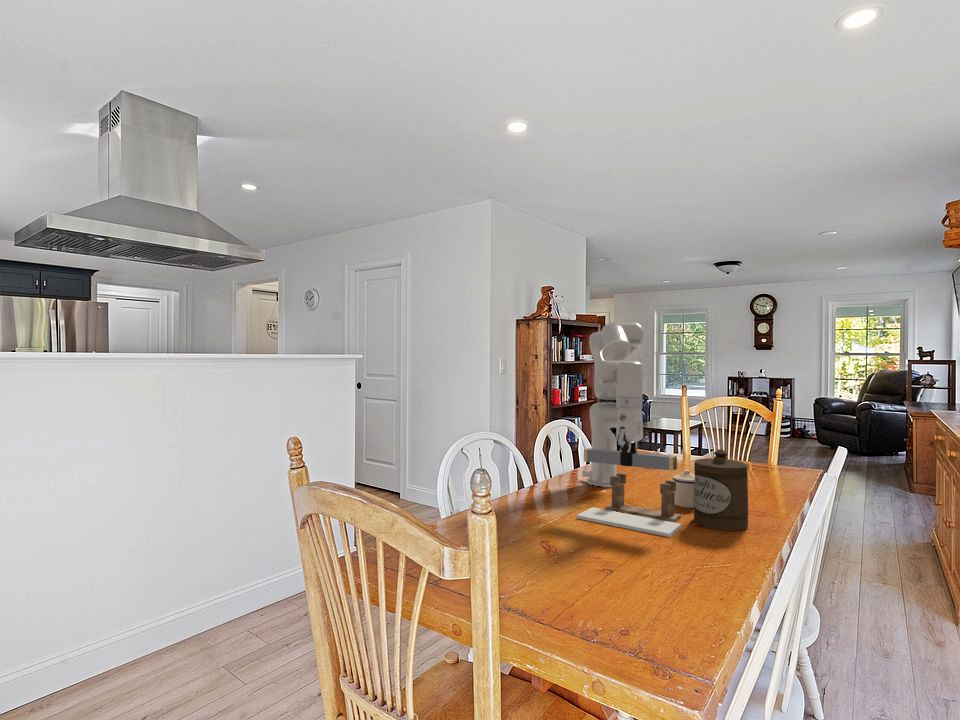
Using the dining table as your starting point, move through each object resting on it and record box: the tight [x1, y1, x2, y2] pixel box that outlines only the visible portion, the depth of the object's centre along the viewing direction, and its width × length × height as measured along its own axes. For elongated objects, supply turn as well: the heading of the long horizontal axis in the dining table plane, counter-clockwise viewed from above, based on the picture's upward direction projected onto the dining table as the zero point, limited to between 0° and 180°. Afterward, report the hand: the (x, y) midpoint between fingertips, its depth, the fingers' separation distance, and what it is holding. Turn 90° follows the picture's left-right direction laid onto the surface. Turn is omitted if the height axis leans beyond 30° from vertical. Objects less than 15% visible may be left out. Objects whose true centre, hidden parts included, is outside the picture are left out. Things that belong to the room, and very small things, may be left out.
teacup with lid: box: [672, 469, 695, 509], centre depth 182 cm, size 12×9×12 cm
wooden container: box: [693, 448, 749, 532], centre depth 161 cm, size 15×15×22 cm
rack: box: [604, 472, 682, 523], centre depth 170 cm, size 22×6×11 cm, turn 54°
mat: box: [576, 506, 683, 538], centre depth 161 cm, size 28×11×1 cm, turn 54°
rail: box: [583, 447, 678, 472], centre depth 160 cm, size 27×4×4 cm, turn 54°
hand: (628, 464), depth 160 cm, fingers closed on rail, 3 cm apart
